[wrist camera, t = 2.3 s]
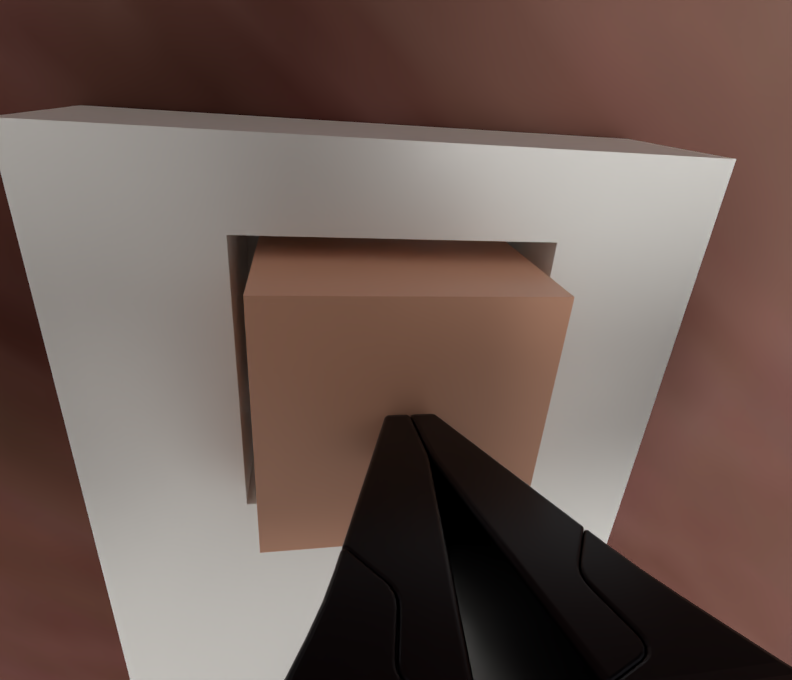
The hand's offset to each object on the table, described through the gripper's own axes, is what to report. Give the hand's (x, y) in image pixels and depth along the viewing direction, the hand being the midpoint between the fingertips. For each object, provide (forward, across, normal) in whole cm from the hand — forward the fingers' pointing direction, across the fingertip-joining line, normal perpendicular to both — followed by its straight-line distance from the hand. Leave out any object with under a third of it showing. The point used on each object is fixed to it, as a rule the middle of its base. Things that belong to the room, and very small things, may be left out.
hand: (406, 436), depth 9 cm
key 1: (+3, 0, 0) cm, 3 cm away
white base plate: (+5, 0, +6) cm, 8 cm away
